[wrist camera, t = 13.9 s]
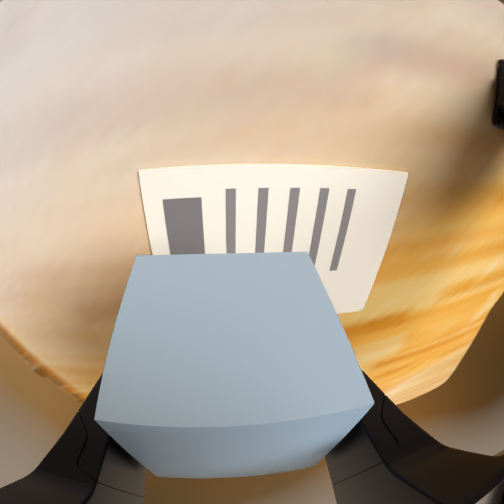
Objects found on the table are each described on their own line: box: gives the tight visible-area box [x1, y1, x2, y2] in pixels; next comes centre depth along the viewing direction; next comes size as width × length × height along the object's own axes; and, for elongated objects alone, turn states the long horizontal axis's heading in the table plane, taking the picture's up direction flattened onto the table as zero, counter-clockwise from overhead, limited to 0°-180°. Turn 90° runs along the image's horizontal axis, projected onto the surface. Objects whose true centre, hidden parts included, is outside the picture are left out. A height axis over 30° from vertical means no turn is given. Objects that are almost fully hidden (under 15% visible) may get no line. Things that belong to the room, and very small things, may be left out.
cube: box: [94, 252, 374, 478], centre depth 7 cm, size 5×5×5 cm
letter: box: [139, 164, 408, 314], centre depth 21 cm, size 18×14×1 cm
